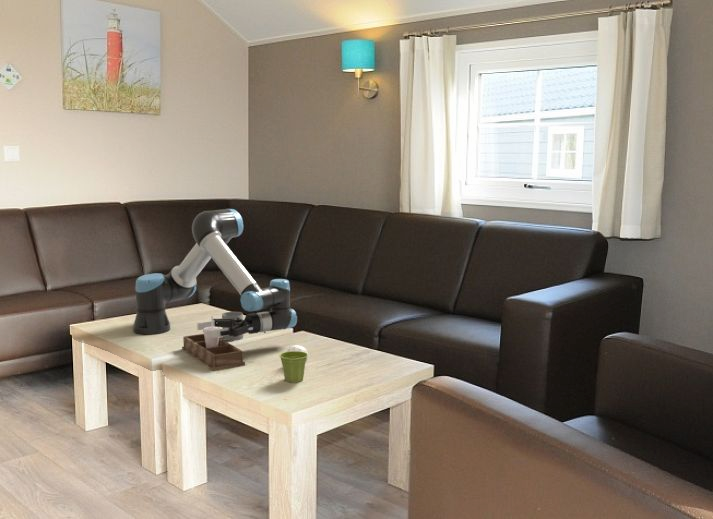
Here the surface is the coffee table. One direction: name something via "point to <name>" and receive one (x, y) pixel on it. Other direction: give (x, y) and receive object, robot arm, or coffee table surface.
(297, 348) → the geometric ball
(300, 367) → the plant pot
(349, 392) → the coffee table surface
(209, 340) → the smoothie
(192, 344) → the caddy
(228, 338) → the cup
